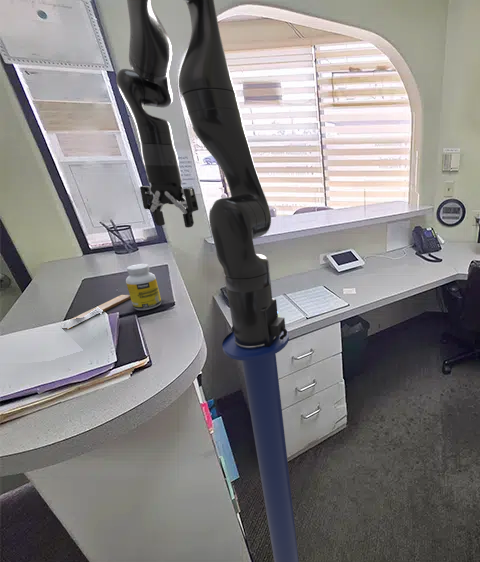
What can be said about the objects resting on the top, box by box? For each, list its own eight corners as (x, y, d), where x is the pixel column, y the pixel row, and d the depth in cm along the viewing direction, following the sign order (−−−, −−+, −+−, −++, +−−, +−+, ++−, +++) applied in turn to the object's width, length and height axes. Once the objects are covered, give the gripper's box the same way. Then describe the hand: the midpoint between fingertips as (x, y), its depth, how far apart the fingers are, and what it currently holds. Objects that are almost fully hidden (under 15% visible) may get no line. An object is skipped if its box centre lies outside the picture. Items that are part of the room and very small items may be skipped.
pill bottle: (135, 313, 82) (123, 272, 77) (132, 305, 86) (120, 265, 82) (164, 306, 86) (154, 267, 81) (159, 298, 90) (150, 261, 86)
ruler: (131, 297, 90) (131, 295, 90) (69, 329, 74) (68, 326, 73) (122, 297, 90) (121, 294, 90) (58, 328, 74) (56, 325, 74)
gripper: (197, 164, 82) (207, 225, 88) (148, 162, 83) (162, 222, 90) (176, 164, 75) (189, 230, 81) (123, 162, 77) (140, 227, 83)
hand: (175, 226), depth 85 cm, fingers open, 8 cm apart
